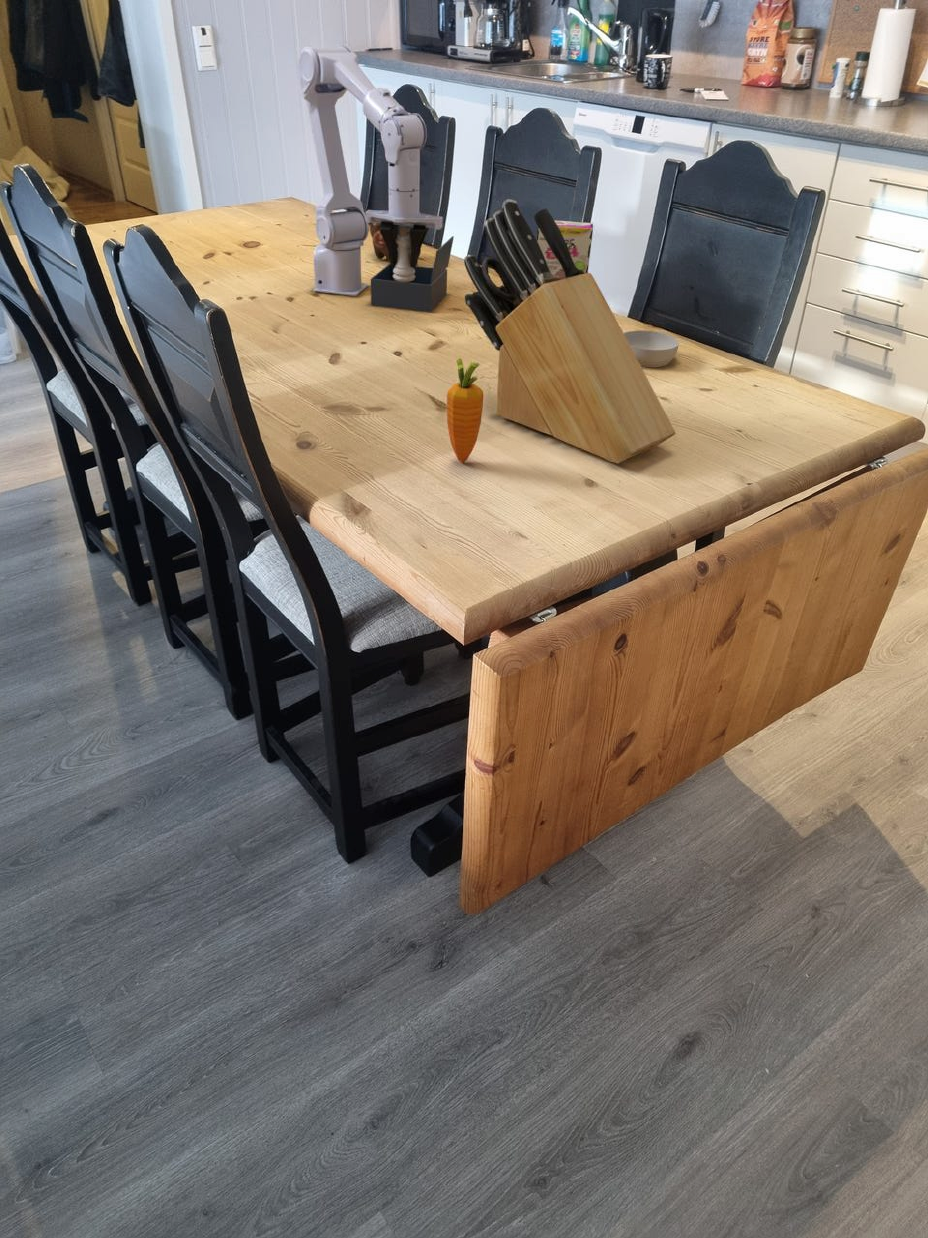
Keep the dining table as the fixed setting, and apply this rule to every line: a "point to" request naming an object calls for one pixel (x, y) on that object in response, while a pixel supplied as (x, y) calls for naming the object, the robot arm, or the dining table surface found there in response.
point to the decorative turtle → (379, 241)
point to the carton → (408, 290)
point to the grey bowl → (652, 347)
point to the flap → (442, 258)
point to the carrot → (464, 411)
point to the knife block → (560, 345)
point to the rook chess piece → (403, 260)
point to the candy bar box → (569, 246)
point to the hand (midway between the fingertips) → (403, 265)
